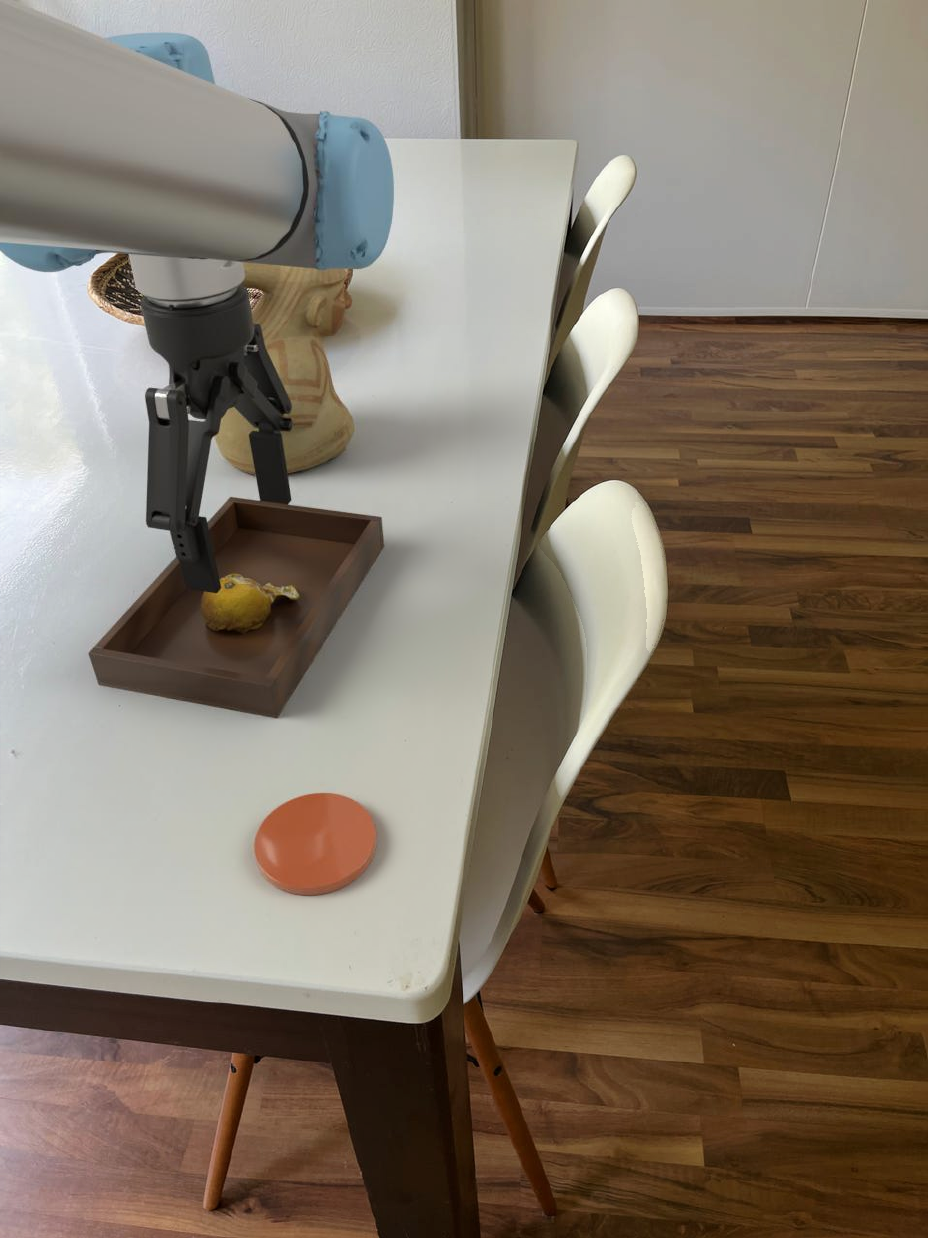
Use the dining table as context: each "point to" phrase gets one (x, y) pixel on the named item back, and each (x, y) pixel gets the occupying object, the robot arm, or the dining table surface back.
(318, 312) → the ceramic vessel
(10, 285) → the dining table surface
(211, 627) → the fruit
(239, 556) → the bin
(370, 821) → the plate
